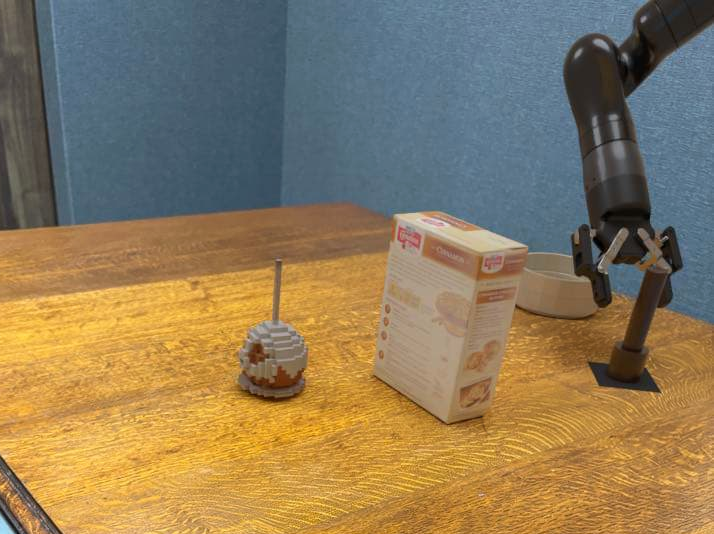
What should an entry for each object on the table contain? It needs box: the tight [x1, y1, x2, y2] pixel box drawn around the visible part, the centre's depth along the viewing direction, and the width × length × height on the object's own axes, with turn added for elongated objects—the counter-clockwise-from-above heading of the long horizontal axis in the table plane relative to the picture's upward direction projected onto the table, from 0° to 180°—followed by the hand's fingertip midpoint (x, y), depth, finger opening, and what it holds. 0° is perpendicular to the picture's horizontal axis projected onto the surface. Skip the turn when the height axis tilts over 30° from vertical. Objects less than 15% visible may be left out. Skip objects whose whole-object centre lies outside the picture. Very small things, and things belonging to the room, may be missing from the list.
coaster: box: [587, 360, 662, 394], centre depth 107 cm, size 8×8×1 cm
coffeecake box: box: [372, 210, 530, 425], centre depth 93 cm, size 15×7×20 cm, turn 32°
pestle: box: [606, 266, 668, 383], centre depth 103 cm, size 4×4×14 cm
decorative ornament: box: [237, 258, 309, 399], centre depth 93 cm, size 8×8×15 cm
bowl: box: [515, 251, 609, 320], centre depth 128 cm, size 14×14×6 cm
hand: (635, 305), depth 104 cm, fingers open, 8 cm apart
